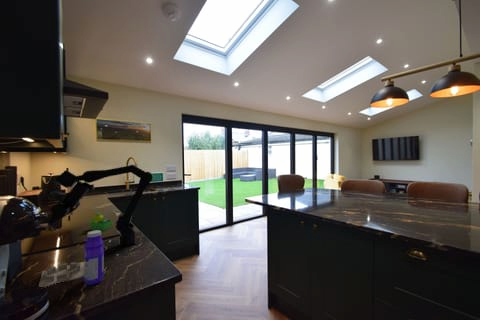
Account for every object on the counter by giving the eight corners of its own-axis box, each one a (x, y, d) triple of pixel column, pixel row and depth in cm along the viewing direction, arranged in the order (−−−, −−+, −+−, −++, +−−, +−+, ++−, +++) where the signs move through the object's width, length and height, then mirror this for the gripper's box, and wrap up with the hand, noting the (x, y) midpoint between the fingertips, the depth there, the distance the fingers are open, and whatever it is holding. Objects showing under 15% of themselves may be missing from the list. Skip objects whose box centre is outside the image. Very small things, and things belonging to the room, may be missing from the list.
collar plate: (93, 260, 90) (93, 254, 90) (96, 273, 79) (96, 266, 79) (42, 273, 80) (42, 266, 80) (37, 289, 69) (38, 281, 70)
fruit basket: (113, 227, 136) (113, 210, 136) (102, 232, 127) (102, 213, 127) (97, 227, 137) (97, 209, 138) (85, 231, 129) (86, 213, 129)
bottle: (82, 279, 75) (82, 231, 75) (100, 274, 79) (101, 228, 79) (85, 288, 70) (86, 236, 70) (105, 281, 74) (106, 232, 74)
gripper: (67, 182, 106) (45, 209, 103) (50, 186, 89) (23, 218, 85) (89, 193, 110) (68, 220, 106) (76, 199, 92) (51, 231, 89)
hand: (53, 222), depth 97 cm, fingers open, 9 cm apart
